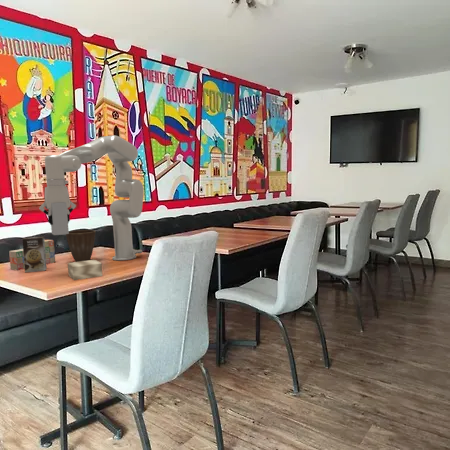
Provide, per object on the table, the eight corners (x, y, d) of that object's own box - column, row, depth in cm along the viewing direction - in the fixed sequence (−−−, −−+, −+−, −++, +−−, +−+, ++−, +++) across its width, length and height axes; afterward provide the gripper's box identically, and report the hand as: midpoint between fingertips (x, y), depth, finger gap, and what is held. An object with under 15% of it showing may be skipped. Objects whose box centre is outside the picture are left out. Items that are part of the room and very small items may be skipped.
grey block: (65, 232, 192) (63, 202, 190) (68, 233, 186) (66, 202, 184) (51, 233, 189) (49, 202, 187) (54, 235, 183) (51, 203, 181)
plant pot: (101, 258, 228) (99, 229, 226) (90, 263, 213) (88, 232, 211) (75, 259, 229) (73, 230, 228) (62, 264, 215) (60, 233, 213)
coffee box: (24, 272, 198) (21, 239, 196) (27, 270, 204) (24, 237, 202) (45, 270, 200) (42, 237, 198) (47, 268, 206) (44, 236, 205)
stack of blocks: (17, 270, 205) (15, 245, 203) (10, 269, 208) (8, 245, 207) (55, 262, 222) (53, 239, 221) (48, 261, 226) (46, 239, 225)
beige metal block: (95, 272, 193) (94, 259, 193) (102, 276, 183) (101, 263, 182) (68, 276, 187) (67, 263, 186) (74, 281, 177) (73, 267, 176)
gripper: (74, 182, 192) (77, 221, 194) (33, 184, 183) (37, 225, 185) (77, 182, 186) (81, 222, 188) (36, 184, 177) (39, 226, 179)
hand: (59, 223), depth 187 cm, fingers closed on grey block, 6 cm apart
